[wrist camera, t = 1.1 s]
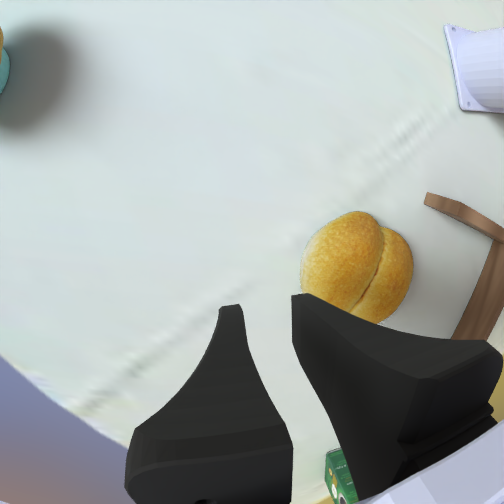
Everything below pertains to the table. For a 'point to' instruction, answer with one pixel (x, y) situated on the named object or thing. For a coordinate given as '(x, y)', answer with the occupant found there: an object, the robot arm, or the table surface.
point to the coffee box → (339, 478)
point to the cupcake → (3, 64)
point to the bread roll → (357, 266)
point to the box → (491, 279)
